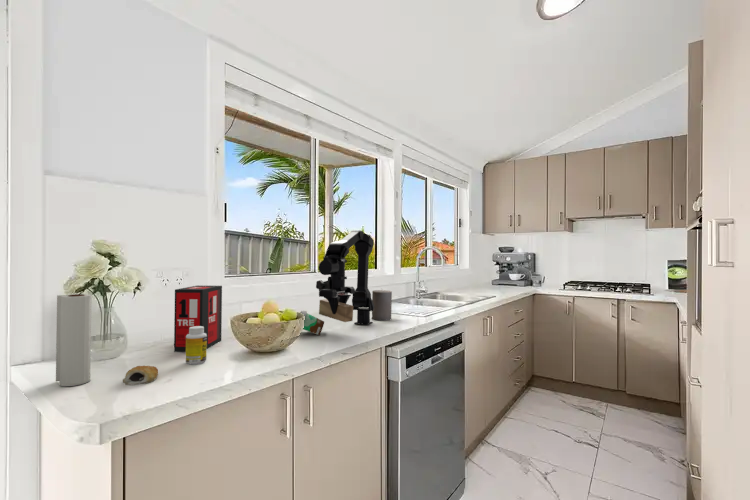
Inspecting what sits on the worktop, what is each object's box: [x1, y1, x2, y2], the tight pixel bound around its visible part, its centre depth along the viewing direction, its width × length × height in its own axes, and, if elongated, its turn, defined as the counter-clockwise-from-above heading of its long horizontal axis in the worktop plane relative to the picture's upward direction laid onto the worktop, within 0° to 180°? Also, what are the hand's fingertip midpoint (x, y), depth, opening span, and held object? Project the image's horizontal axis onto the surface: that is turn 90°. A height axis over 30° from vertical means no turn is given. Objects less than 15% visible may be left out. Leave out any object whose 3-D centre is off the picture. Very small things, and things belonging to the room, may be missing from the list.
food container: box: [299, 310, 325, 336], centre depth 159 cm, size 12×6×10 cm
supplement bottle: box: [185, 326, 208, 365], centre depth 116 cm, size 6×6×10 cm
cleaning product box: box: [173, 285, 223, 353], centre depth 136 cm, size 16×9×20 cm, turn 0°
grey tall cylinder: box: [55, 293, 92, 387], centre depth 97 cm, size 7×6×21 cm
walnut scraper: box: [318, 298, 354, 323], centre depth 160 cm, size 4×16×6 cm, turn 46°
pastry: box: [122, 365, 159, 386], centre depth 101 cm, size 9×7×4 cm
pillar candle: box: [371, 289, 393, 321], centre depth 196 cm, size 10×10×15 cm
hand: (337, 313), depth 159 cm, fingers closed on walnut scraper, 5 cm apart
